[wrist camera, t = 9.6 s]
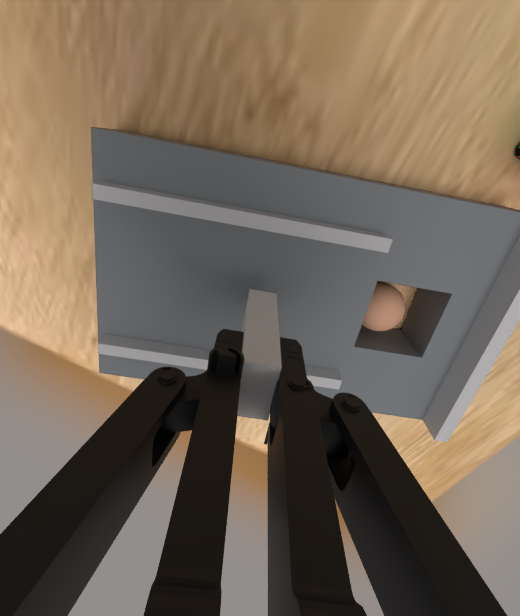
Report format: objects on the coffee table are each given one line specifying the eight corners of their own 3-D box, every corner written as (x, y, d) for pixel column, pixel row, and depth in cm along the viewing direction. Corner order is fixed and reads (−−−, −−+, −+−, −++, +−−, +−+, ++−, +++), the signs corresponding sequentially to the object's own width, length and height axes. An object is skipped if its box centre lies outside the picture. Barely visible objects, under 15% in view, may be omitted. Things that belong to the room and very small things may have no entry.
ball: (388, 297, 22) (423, 295, 23) (353, 275, 24) (387, 275, 26) (370, 342, 23) (405, 338, 25) (339, 317, 26) (372, 315, 27)
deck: (120, 129, 21) (71, 125, 16) (504, 206, 23) (579, 225, 18) (120, 343, 28) (86, 391, 23) (416, 388, 30) (450, 442, 25)
